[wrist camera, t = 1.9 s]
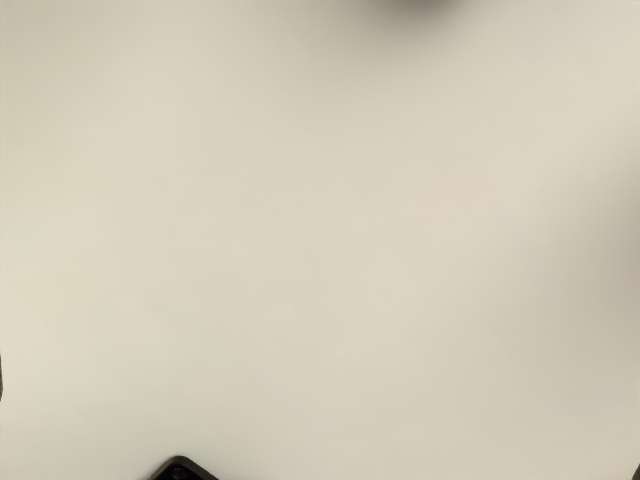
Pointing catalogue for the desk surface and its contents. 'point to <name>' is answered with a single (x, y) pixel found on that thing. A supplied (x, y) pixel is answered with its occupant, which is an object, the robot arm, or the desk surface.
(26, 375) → the desk surface
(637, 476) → the robot arm
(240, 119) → the desk surface
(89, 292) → the desk surface
